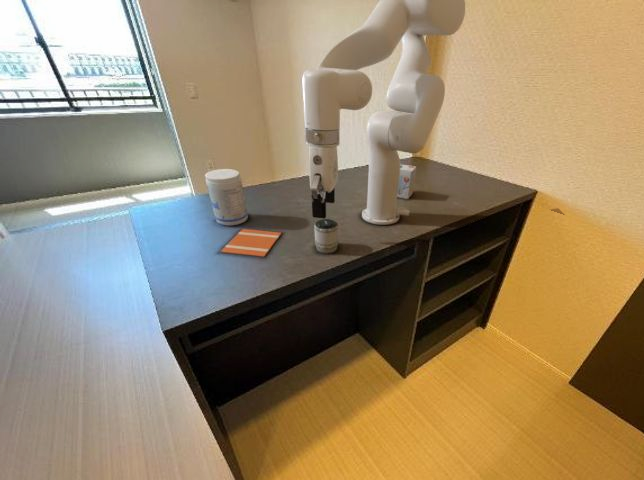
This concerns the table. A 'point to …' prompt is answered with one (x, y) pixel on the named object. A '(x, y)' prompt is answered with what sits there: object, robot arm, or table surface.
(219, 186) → the supplement tub
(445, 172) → the table surface
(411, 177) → the light bulb box
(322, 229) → the camera lens
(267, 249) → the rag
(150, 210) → the table surface
